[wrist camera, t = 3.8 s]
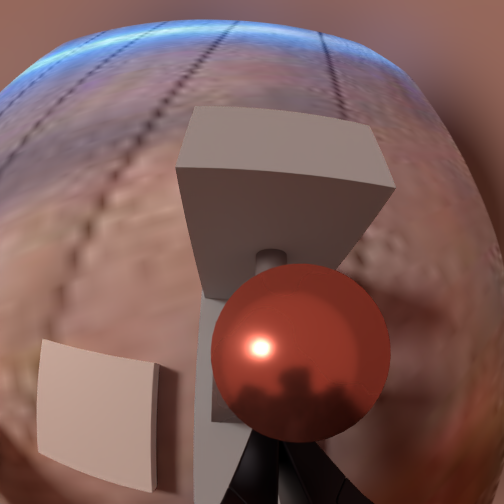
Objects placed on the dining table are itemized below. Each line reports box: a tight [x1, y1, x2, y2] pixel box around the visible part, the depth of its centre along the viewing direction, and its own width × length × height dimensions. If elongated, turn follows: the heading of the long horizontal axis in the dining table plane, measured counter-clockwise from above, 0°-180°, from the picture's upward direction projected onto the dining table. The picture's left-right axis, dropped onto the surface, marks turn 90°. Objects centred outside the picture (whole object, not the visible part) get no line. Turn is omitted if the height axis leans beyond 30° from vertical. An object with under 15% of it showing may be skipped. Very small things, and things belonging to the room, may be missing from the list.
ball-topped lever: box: [211, 263, 391, 443], centre depth 9 cm, size 5×4×10 cm
